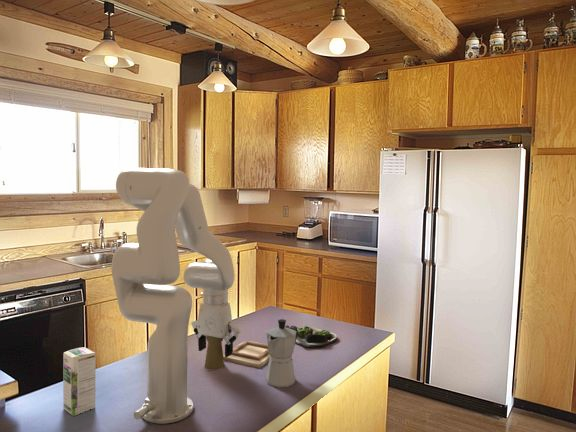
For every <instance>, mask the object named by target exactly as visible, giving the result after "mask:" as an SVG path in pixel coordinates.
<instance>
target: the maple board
mask: <svg viewBox="0 0 576 432" xmlns="http://www.w3.org/2000/svg"><path fill="white" fill-rule="evenodd" d="M270 357H271V356H270V355H269V351H268V343H267V344H266V343H261V342H257V341H252V340H247V339H246V340H244V341H243V342H241V343H239V344H238V345H236V346H233V352H232V354H231V355H230V356H228V357H225V353H223V358H224V362H231V363H235V364H239V365H243V366H248V367H253V368H257V369H260V368H261V367H263V366H264V365H265V364H267V363H269V358H270Z"/></svg>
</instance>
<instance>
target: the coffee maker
mask: <svg viewBox="0 0 576 432" xmlns="http://www.w3.org/2000/svg"><path fill="white" fill-rule="evenodd" d="M277 322H278V326H277V327H274V328H270V329H268V330H267V332H266V339H267V340H266V341H267V345H268V351H269V355H270V356H271V357H270V358H269V361H268V365H267V370H266V375H265V381H266V383H267V385H269V386H271V387H275V388H278V389H279V388H288V387H291V386H292V385H294V384H295V383H296V375H295V369H294V360H293V358H292V357H293V355H294V351H295V350H294V349H295V345H296V343H295V342H296V339H297V335H298V328H297V327H298V326H296V325H291V326H289V325H288V324H287V325H286V322H287V320H286V319H278V320H277Z"/></svg>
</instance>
